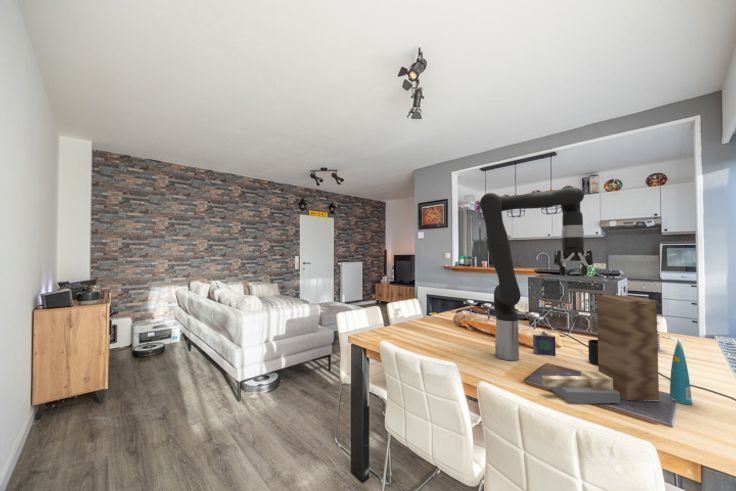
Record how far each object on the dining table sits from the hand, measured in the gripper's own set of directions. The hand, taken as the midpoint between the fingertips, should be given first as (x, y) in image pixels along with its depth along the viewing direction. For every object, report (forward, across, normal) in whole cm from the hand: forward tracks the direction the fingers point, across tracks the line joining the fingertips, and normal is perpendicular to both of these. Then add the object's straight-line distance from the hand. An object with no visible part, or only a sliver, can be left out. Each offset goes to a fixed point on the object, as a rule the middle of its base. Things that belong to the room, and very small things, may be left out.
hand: (573, 275), depth 122 cm
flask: (+38, -3, +17) cm, 42 cm away
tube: (+38, +16, -26) cm, 49 cm away
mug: (+38, +16, +5) cm, 42 cm away
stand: (+38, +3, -21) cm, 44 cm away
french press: (+38, +51, +24) cm, 68 cm away
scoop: (+35, -16, -24) cm, 45 cm away
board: (+38, -13, -24) cm, 47 cm away
